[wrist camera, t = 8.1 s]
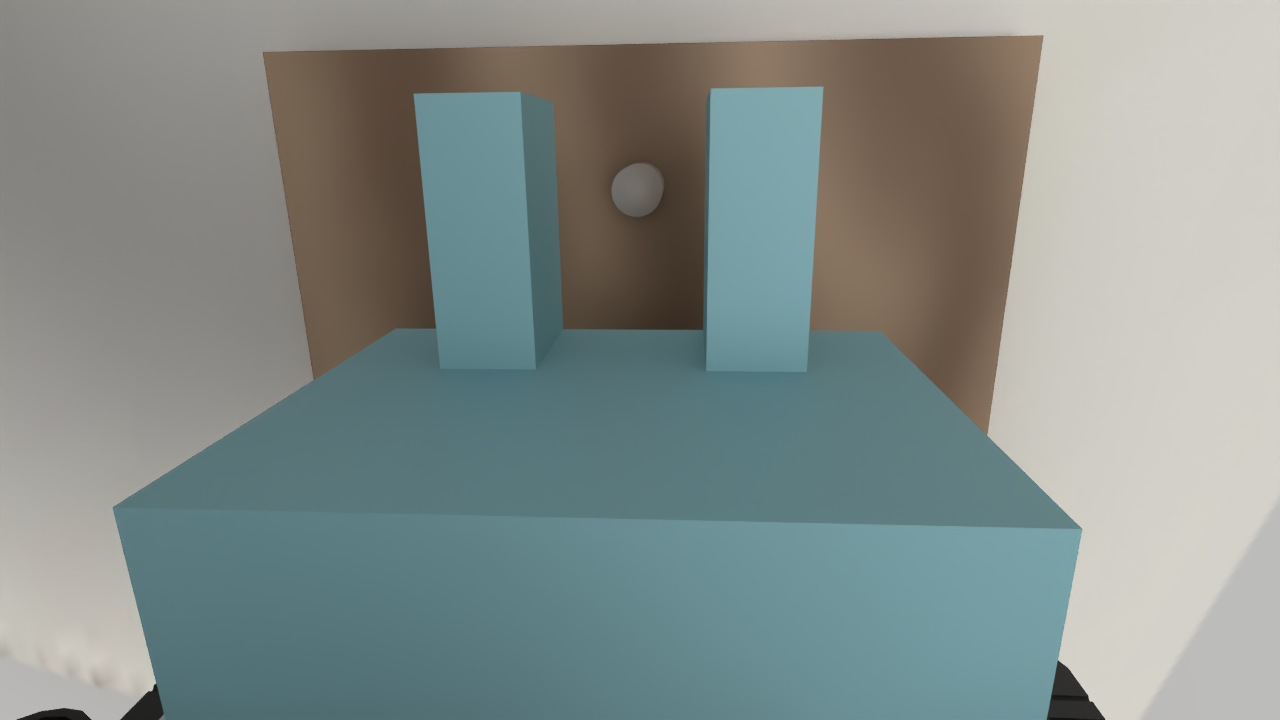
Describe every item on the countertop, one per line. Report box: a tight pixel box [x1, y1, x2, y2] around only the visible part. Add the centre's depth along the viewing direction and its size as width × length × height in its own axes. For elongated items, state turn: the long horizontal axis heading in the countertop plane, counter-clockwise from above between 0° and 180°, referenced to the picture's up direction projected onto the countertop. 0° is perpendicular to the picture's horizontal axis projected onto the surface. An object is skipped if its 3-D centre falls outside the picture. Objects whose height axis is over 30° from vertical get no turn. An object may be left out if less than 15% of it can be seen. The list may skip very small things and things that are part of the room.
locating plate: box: [263, 36, 1043, 435], centre depth 21 cm, size 20×20×4 cm
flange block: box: [113, 87, 1082, 720], centre depth 11 cm, size 17×9×7 cm, turn 1°
